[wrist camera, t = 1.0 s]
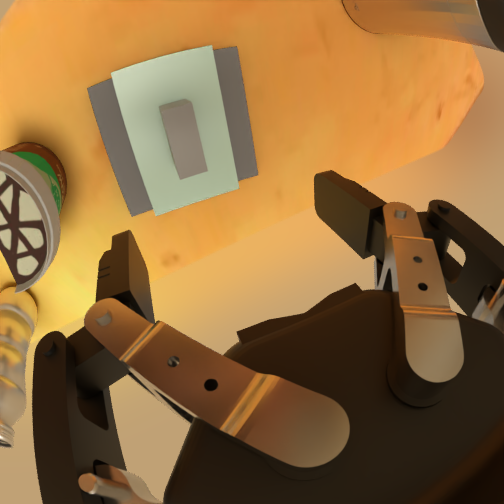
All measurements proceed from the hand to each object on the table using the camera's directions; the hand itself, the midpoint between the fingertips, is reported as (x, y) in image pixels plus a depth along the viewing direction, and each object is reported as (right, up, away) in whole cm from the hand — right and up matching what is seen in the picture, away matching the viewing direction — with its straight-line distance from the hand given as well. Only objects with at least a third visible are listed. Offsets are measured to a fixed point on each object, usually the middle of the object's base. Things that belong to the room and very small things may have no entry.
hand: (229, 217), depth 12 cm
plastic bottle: (-30, -8, +16) cm, 35 cm away
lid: (-6, +10, +13) cm, 17 cm away
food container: (-19, +6, +11) cm, 23 cm away
